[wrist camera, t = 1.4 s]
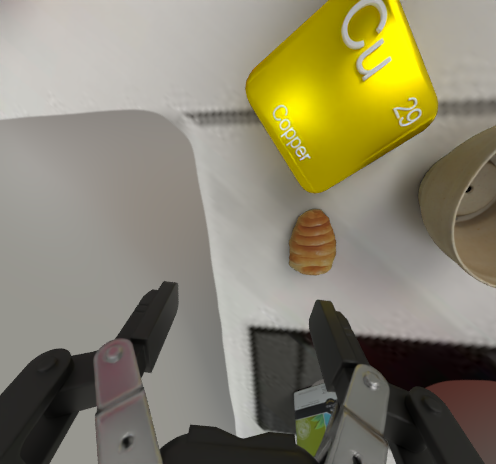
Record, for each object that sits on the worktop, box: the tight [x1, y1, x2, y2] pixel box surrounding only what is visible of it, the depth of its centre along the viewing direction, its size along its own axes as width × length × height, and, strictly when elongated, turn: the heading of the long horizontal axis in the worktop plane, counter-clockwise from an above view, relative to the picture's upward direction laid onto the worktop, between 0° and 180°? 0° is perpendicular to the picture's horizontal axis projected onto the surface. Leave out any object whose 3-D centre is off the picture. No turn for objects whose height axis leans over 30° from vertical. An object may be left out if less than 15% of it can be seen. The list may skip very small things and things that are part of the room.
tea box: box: [294, 383, 337, 457], centre depth 38 cm, size 15×10×15 cm, turn 37°
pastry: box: [289, 209, 336, 275], centre depth 30 cm, size 9×7×4 cm
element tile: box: [245, 0, 438, 194], centre depth 23 cm, size 15×15×5 cm
